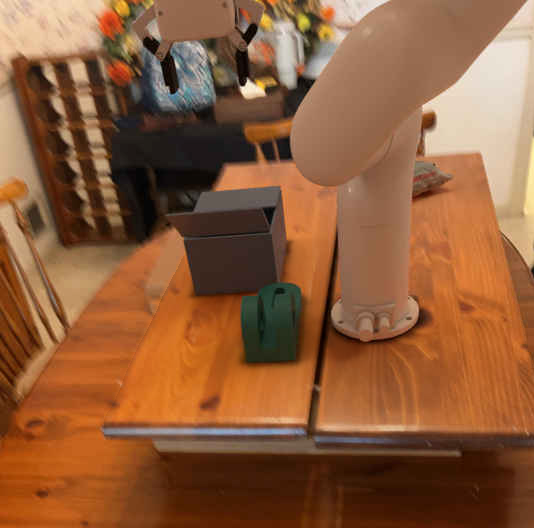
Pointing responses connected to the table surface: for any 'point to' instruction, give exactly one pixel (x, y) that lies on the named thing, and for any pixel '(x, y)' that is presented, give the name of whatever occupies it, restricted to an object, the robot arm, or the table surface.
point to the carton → (238, 245)
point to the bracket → (271, 323)
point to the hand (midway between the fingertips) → (209, 87)
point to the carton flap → (219, 222)
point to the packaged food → (428, 177)
